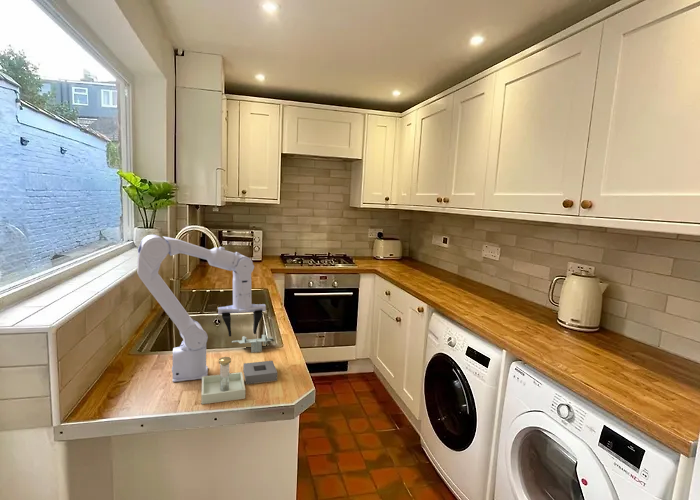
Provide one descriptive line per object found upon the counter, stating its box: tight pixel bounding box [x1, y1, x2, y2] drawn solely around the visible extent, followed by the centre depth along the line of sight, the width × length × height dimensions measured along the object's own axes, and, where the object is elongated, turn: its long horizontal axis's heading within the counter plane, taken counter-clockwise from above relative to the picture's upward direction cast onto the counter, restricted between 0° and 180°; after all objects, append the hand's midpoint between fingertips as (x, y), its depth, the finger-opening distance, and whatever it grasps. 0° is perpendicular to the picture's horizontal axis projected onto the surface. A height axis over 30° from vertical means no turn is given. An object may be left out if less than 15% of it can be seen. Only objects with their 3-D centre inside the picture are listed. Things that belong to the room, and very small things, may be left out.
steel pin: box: [218, 356, 232, 391], centre depth 104 cm, size 3×3×9 cm
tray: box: [200, 371, 246, 405], centre depth 104 cm, size 11×11×2 cm
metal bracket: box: [231, 334, 274, 354], centre depth 138 cm, size 14×6×15 cm
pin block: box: [242, 360, 278, 385], centre depth 114 cm, size 9×9×2 cm
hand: (242, 334), depth 120 cm, fingers open, 7 cm apart
